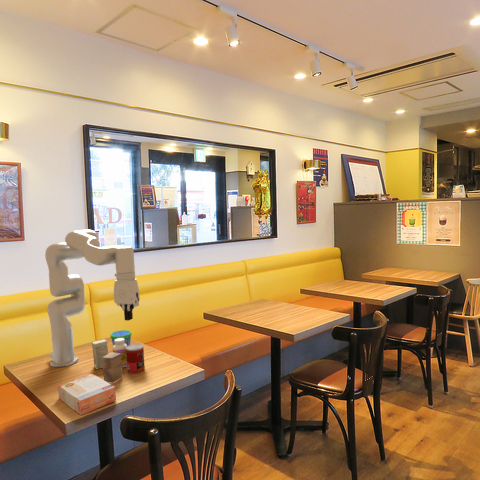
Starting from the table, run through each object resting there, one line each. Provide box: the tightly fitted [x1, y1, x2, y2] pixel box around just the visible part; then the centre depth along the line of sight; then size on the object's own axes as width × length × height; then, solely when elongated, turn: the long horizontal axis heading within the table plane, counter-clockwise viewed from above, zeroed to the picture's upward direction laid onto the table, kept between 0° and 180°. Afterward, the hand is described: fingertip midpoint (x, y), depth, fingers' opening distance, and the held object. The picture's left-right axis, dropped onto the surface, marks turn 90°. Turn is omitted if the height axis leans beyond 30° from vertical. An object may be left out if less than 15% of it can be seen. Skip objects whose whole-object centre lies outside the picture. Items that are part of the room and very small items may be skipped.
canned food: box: [126, 343, 146, 374], centre depth 183 cm, size 8×8×11 cm
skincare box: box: [91, 338, 109, 370], centre depth 189 cm, size 6×4×12 cm
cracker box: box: [57, 373, 117, 416], centre depth 155 cm, size 14×6×21 cm
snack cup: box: [110, 329, 132, 347], centre depth 208 cm, size 16×10×10 cm
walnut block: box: [102, 351, 123, 384], centre depth 173 cm, size 5×6×11 cm
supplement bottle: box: [112, 338, 127, 369], centre depth 188 cm, size 7×7×13 cm
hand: (128, 319), depth 167 cm, fingers closed
